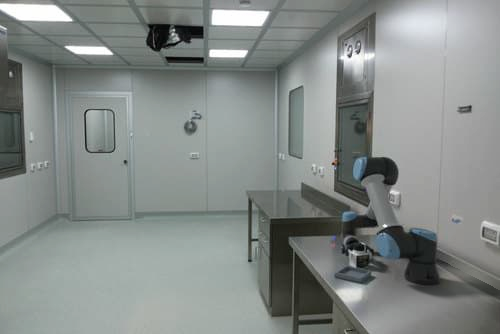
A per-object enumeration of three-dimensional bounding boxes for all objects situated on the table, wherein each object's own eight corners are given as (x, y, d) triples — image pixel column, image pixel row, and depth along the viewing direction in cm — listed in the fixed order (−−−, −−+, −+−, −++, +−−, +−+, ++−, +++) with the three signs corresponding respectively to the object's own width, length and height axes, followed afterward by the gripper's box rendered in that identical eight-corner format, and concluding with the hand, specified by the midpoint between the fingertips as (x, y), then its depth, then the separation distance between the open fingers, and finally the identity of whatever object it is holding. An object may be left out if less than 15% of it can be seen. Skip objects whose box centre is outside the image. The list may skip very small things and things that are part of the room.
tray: (371, 276, 192) (371, 270, 192) (360, 283, 182) (360, 278, 182) (346, 270, 200) (346, 265, 200) (334, 277, 190) (334, 272, 190)
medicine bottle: (356, 269, 202) (356, 245, 201) (348, 264, 209) (349, 241, 208) (368, 268, 204) (369, 244, 203) (361, 263, 211) (361, 240, 210)
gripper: (371, 251, 223) (383, 264, 201) (332, 250, 224) (338, 263, 202) (372, 237, 223) (383, 249, 200) (332, 236, 224) (339, 248, 201)
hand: (361, 256), depth 201 cm, fingers closed on medicine bottle, 9 cm apart
